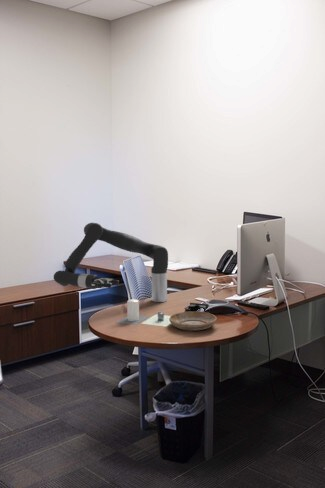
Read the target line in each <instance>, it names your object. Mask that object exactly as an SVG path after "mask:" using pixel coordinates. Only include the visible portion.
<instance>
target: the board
mask: <svg viewBox="0 0 325 488" xmlns="http://www.w3.org/2000/svg"><path fill="white" fill-rule="evenodd" d="M171 316H172V315H166V314H164V321H158V313H157V314H156V313H155V314H154V315H153V316H150V317H149V318H147V319H146V320H144V321H142V322H141V323H140V324H142V325H149V326H156V327H164V328H165V327H168V326H169V325H172V324H171V323H170V320H169V318H170V317H171Z"/></svg>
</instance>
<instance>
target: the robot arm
mask: <svg viewBox="0 0 325 488" xmlns="http://www.w3.org/2000/svg"><path fill="white" fill-rule="evenodd" d="M83 233H84V237H83V239H82V240H81V242H80V243H79V244H78V246H77V247H75V249H74V250H73V251H72V252H71V253H70V255H69V256H68V258H67V259H66V261H65V263H64V265H63V266H64V268H65V269H64V270H58V271H55V272H54V274H53V279H54V282H55V283H57V284H58V285H60V286H62V287H67V286H69V285H71V286H73V287H79V288H83V289H84V288H85V289H91V290H95V289H103V288H107V289H111V288H112V285H116V286H117V285H120V280H117V279H114V277H113V278H111V277H101V278H99V276H98V275H97V274H90V273H89V274H88V273H76V270H77V269H78V268H79V266H80V264H81V263H82V261H83V259H84V258H85V257H86V255H87V253H88V252H89V251H90V249H91V248H92V247H93V246H94V245H95V243H96V242H97V241H100V242H104V243H107V244H109V245H111V246H113V247H115V248H117V249H120V250H123V251H127V252H131V253H136V254H141V255H143V256H145V257H147V258H150V259H152V260H153V263H152V267H151V268H150V269H151V275H150V276H151V301H152V302H154V303H165V302H168V273H167V272H168V271H167V270H168V269H169V268H168V267H169V251H168V249H167V248H166V247H165V246H163V245H158V244H154V243H153V244H152V243H149V242H146V241H144V240H141V239H140V238H138V237H135V236H133V235H131V234H128V233H124V232H121V231H116V230H111V229H107V228H105V227H103V226H102V225H101V224H100V223H97V222H89V223H87V224H86V225H85V226H84V228H83Z"/></svg>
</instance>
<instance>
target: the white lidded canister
mask: <svg viewBox="0 0 325 488" xmlns="http://www.w3.org/2000/svg"><path fill="white" fill-rule="evenodd" d="M126 308H127V309H126V310H127V311H126V312H127V316H128V320H129V321H138V320H139V315H140V301H139V299H135V298H133V299H128V300H127V302H126Z"/></svg>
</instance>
